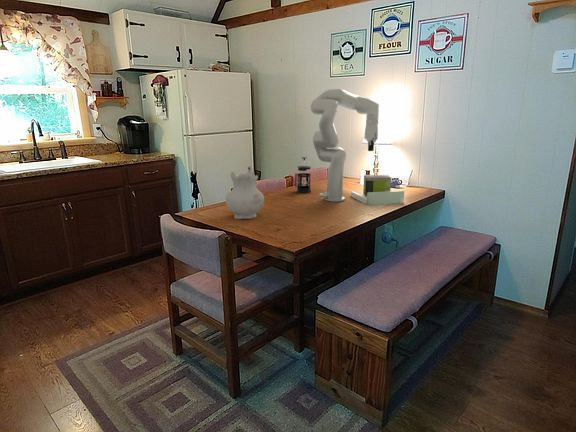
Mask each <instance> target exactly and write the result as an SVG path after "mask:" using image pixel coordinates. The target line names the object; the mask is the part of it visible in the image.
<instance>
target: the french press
mask: <svg viewBox="0 0 576 432" xmlns="http://www.w3.org/2000/svg"><path fill="white" fill-rule="evenodd" d="M301 159H302V160H303V163H305V160H306V159H308V157H305V156H302V157H301ZM311 168H312V166H311V165H310V166H309V165H299V166H298V165H297V171H299V172H298V173H295V174H294V187H296V193H297V192H298V193H297V194H310V193H311V192H312V190H311V188H312V187H311V177H312V174H311V173H307V172H306V171H307V170H311ZM303 178H305V180H303Z"/></svg>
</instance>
